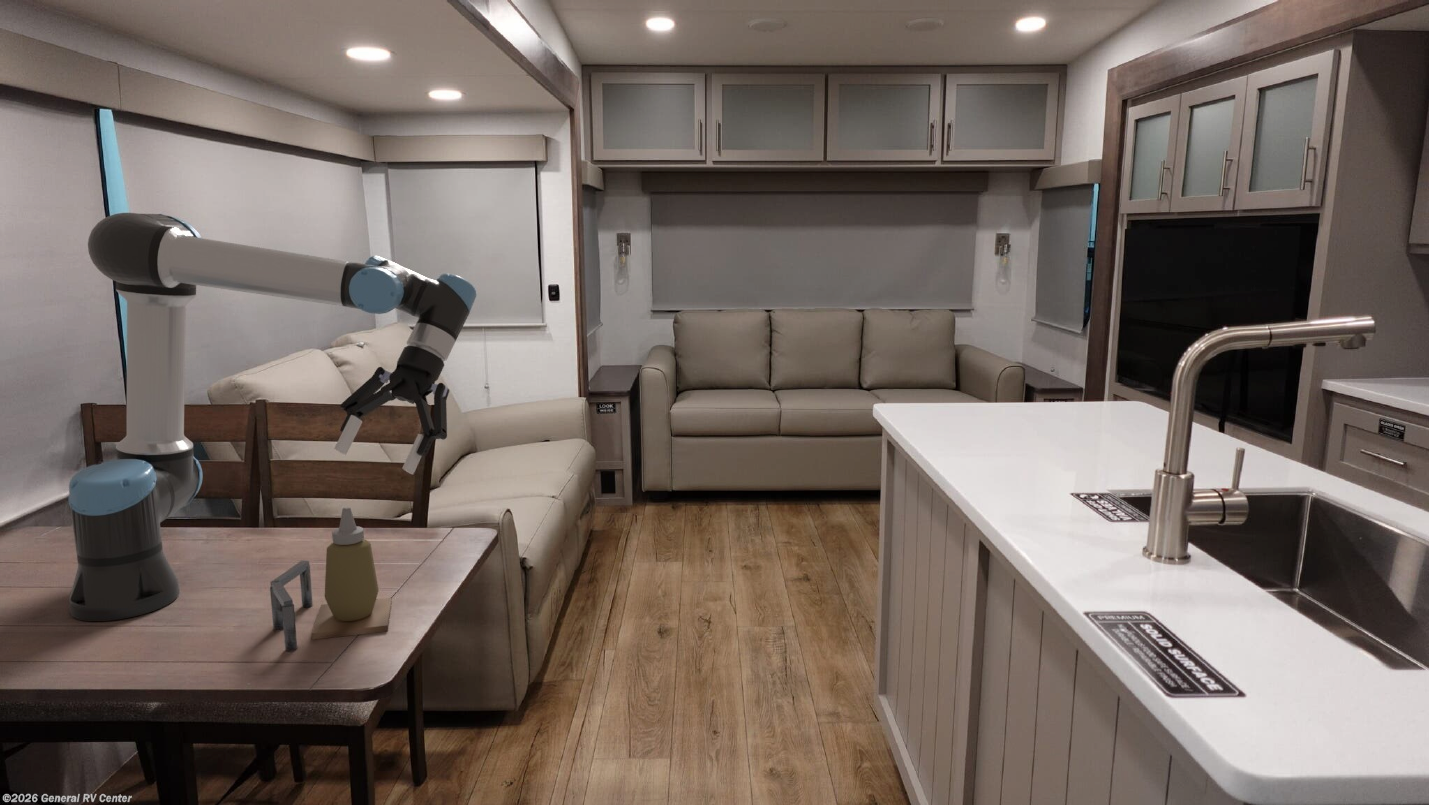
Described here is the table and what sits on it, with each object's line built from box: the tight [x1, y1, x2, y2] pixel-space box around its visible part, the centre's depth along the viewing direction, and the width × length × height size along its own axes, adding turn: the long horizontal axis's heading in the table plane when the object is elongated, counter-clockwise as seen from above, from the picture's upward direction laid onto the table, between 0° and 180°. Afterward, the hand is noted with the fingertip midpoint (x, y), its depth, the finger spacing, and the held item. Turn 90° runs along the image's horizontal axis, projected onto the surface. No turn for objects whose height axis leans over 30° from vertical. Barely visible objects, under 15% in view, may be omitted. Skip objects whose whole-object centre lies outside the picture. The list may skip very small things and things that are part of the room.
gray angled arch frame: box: [269, 560, 314, 653], centre depth 133 cm, size 5×18×8 cm, turn 18°
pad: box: [311, 597, 393, 641], centre depth 136 cm, size 11×11×1 cm
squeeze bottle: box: [324, 507, 380, 621], centre depth 135 cm, size 8×8×18 cm
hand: (373, 461), depth 143 cm, fingers open, 13 cm apart
